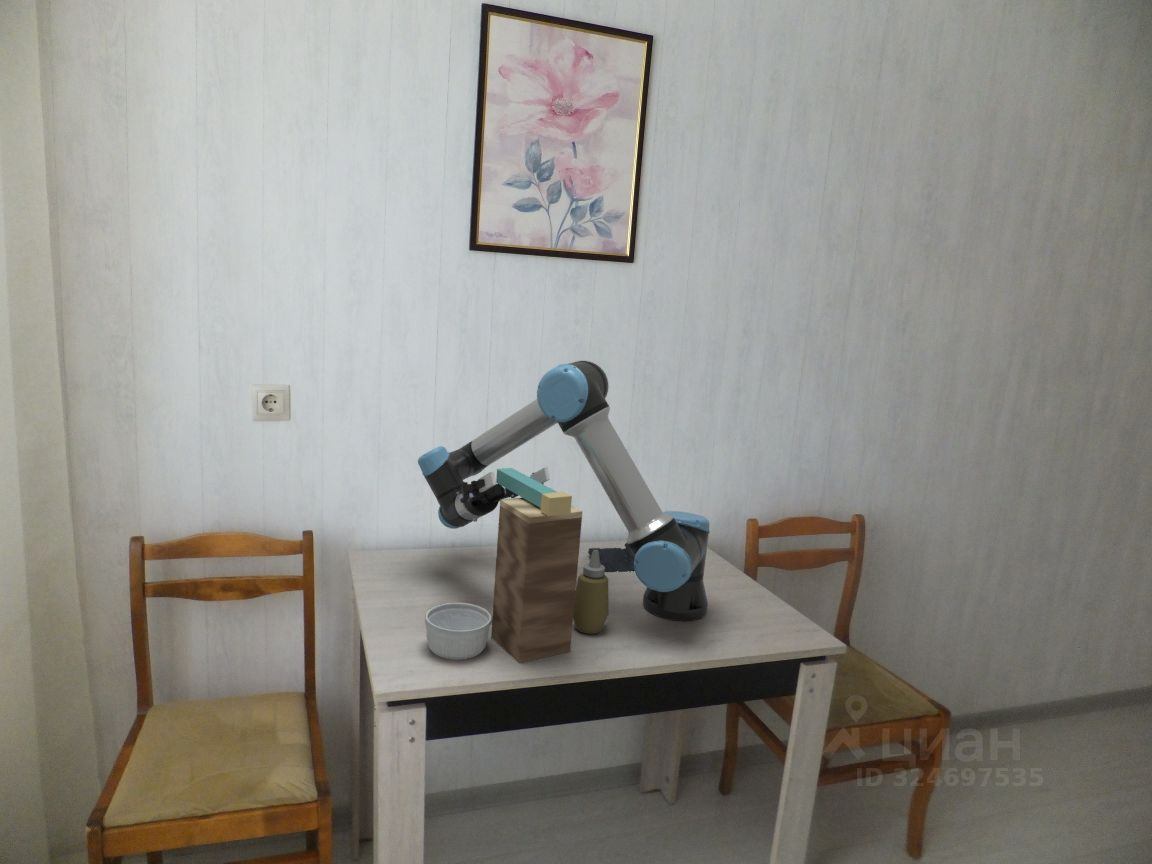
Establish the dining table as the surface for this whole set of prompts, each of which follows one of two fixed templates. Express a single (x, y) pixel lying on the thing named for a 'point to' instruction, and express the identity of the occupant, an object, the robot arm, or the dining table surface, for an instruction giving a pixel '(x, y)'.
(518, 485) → the peg
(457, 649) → the ramekin
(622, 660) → the dining table surface
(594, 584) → the squeeze bottle
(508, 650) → the post
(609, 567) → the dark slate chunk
